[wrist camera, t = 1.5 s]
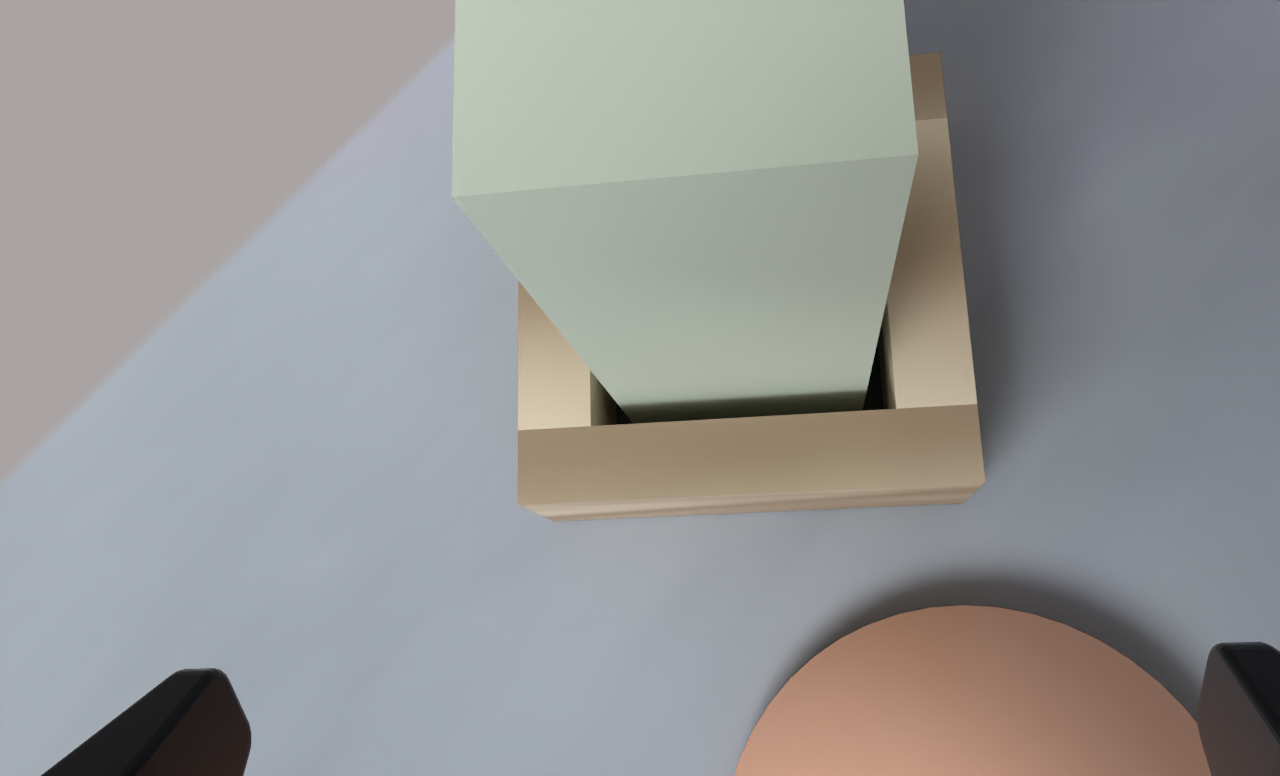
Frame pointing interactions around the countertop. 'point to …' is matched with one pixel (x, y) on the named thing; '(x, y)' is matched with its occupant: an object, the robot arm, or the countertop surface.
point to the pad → (972, 705)
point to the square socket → (784, 444)
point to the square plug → (694, 188)
